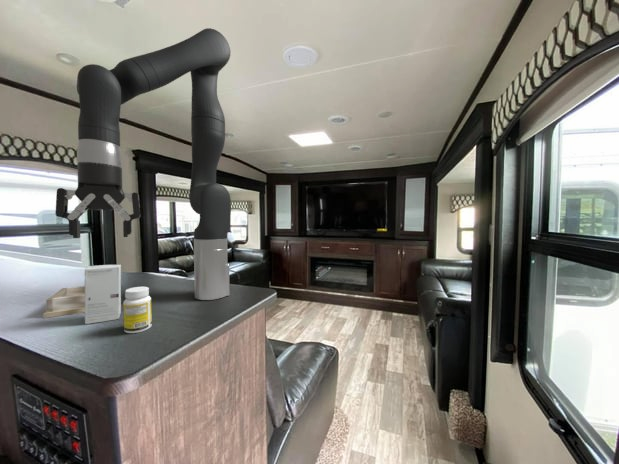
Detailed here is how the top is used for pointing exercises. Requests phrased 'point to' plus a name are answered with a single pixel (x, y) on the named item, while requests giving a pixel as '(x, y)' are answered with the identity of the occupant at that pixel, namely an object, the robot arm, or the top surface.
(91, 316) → the skincare box
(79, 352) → the top surface
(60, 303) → the wooden tray
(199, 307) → the top surface
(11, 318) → the top surface
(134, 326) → the supplement bottle
